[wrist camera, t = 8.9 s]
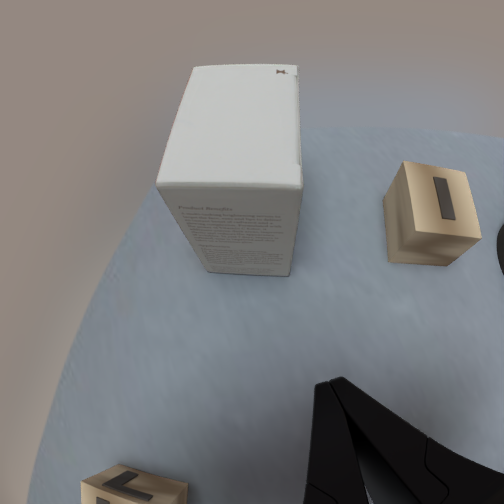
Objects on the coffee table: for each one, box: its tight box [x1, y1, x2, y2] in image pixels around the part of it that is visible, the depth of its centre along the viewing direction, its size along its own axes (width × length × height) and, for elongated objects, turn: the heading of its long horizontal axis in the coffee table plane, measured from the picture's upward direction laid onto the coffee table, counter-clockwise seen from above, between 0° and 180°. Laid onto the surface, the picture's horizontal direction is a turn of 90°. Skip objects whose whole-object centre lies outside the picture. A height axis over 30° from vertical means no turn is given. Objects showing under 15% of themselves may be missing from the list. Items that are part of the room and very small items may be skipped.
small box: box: [155, 64, 304, 276], centre depth 17 cm, size 8×6×10 cm
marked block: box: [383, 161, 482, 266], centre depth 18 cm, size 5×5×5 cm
